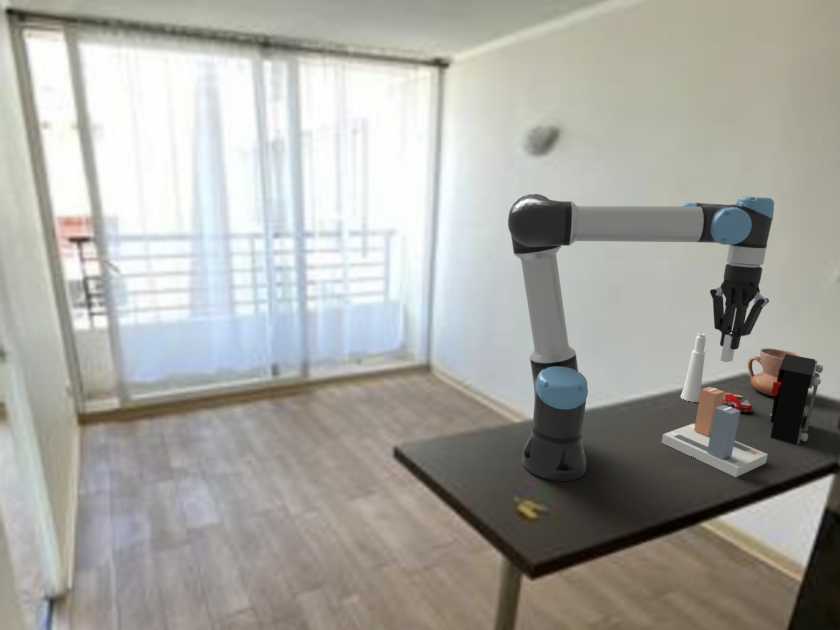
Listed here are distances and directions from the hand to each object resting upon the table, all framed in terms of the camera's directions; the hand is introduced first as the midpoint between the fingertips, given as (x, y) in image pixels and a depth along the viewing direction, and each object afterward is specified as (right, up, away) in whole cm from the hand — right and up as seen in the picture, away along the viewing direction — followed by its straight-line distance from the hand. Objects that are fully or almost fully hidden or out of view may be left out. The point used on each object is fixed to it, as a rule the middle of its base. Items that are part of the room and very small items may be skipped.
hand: (726, 360), depth 136 cm
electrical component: (+31, -22, +25) cm, 45 cm away
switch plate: (+2, -25, +10) cm, 27 cm away
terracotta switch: (+3, -21, +15) cm, 26 cm away
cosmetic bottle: (+13, -16, +45) cm, 50 cm away
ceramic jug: (+45, -15, +54) cm, 72 cm away
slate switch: (0, -24, +3) cm, 24 cm away
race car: (+25, -18, +41) cm, 52 cm away
